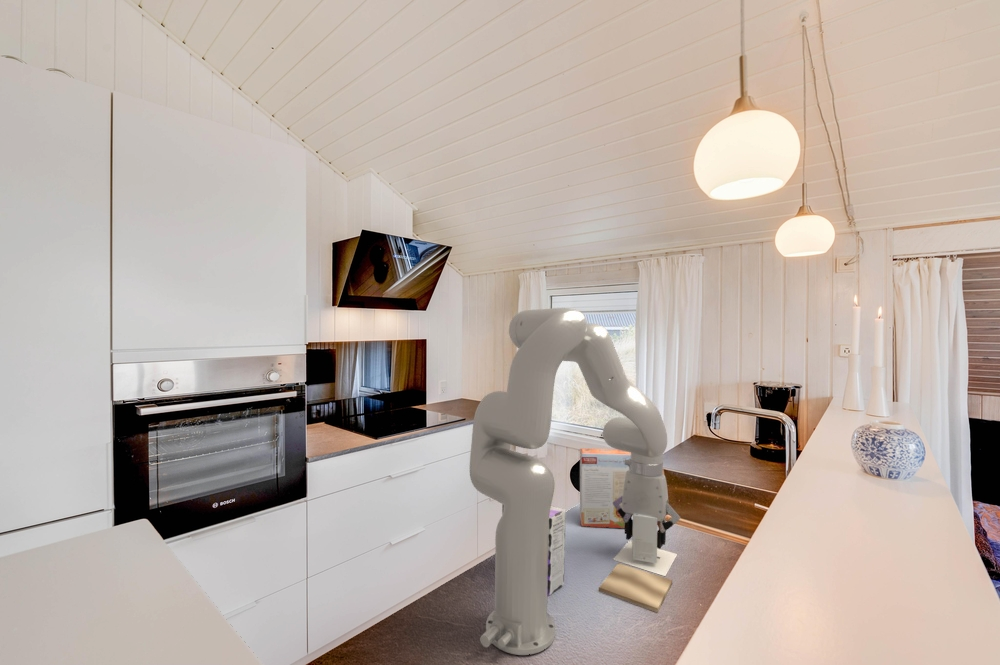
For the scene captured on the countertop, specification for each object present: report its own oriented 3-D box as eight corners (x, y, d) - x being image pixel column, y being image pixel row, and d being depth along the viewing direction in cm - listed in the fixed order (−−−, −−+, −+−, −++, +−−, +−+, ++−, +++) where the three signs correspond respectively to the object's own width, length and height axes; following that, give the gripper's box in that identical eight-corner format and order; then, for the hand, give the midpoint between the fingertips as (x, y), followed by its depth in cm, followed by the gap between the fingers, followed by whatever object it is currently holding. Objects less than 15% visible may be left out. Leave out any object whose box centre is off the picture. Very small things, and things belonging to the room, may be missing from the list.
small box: (656, 564, 100) (657, 518, 100) (631, 559, 101) (632, 514, 102) (656, 549, 107) (657, 506, 107) (632, 544, 109) (633, 503, 109)
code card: (665, 576, 96) (665, 576, 96) (613, 560, 103) (613, 559, 103) (677, 554, 106) (677, 553, 106) (629, 540, 113) (629, 540, 113)
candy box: (499, 571, 98) (501, 498, 98) (516, 561, 102) (517, 491, 102) (549, 597, 88) (550, 516, 88) (565, 585, 93) (566, 508, 93)
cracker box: (627, 520, 125) (628, 448, 126) (631, 530, 119) (632, 454, 120) (578, 518, 127) (579, 447, 127) (580, 527, 121) (581, 452, 121)
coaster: (657, 612, 84) (657, 608, 84) (598, 591, 91) (599, 587, 91) (672, 583, 94) (672, 580, 94) (618, 566, 100) (618, 562, 100)
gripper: (606, 464, 107) (604, 537, 106) (680, 479, 97) (678, 559, 96) (616, 458, 113) (615, 527, 112) (687, 471, 103) (685, 546, 102)
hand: (644, 541), depth 104 cm, fingers closed on small box, 6 cm apart
